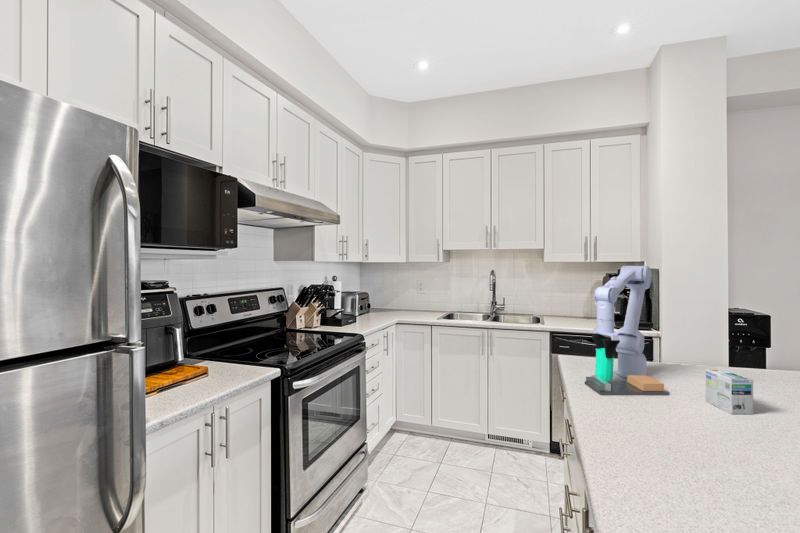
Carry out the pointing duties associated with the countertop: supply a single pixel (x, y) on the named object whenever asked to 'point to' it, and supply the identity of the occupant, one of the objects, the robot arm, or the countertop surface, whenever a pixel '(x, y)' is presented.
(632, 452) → the countertop surface
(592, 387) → the dark grey flat block
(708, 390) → the light bulb box
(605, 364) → the candle
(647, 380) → the tan flat block
